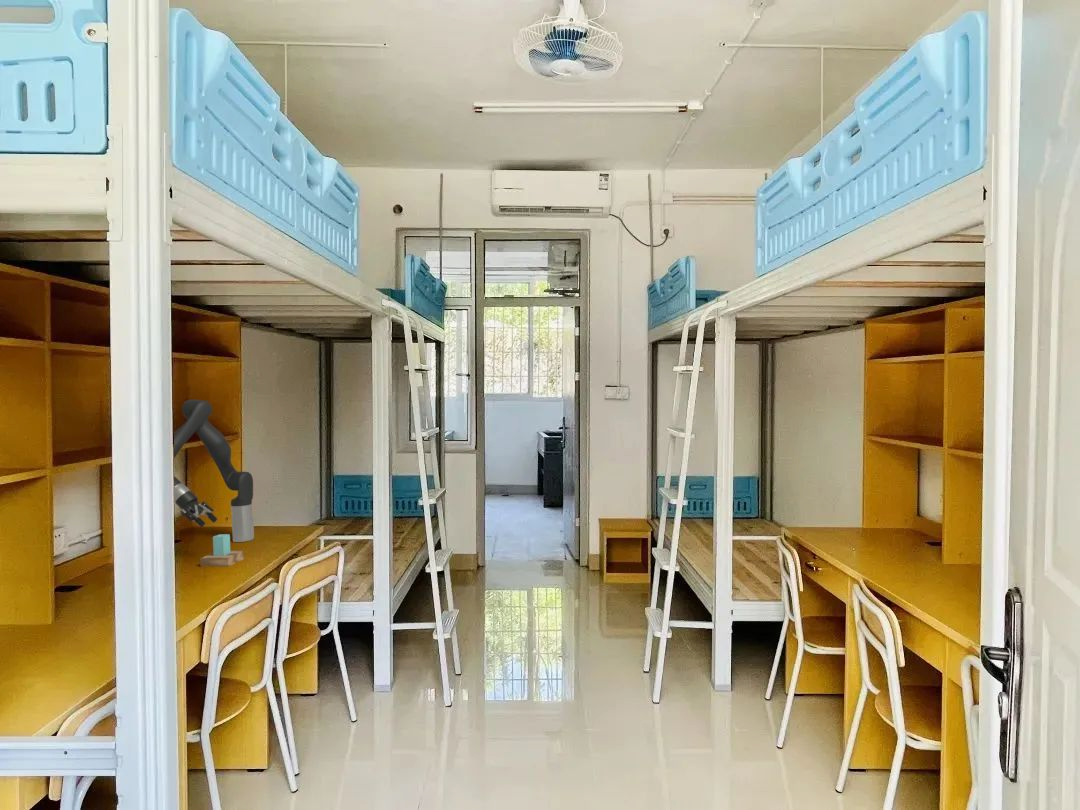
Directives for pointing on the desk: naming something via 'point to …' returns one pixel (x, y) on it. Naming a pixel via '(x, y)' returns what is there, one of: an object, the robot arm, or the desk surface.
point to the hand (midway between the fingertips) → (209, 523)
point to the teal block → (221, 544)
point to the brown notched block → (222, 559)
